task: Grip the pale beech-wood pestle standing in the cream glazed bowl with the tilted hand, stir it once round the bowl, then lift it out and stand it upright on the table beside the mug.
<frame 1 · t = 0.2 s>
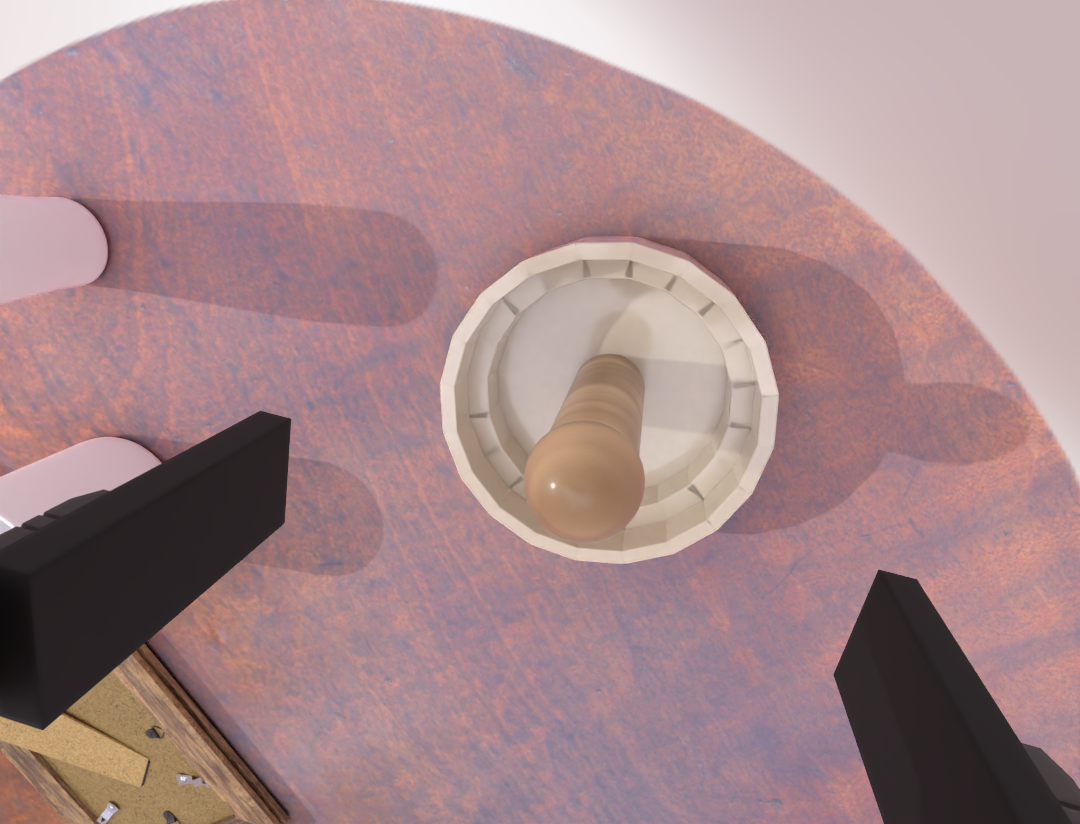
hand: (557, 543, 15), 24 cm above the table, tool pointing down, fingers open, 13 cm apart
drinking glass: (77, 241, 41), on the table
bowl: (609, 385, 38), on the table
mug: (152, 498, 46), on the table
picture frame: (125, 741, 54), on the table
pestle: (609, 388, 37), point 1 cm above the table, touching bowl
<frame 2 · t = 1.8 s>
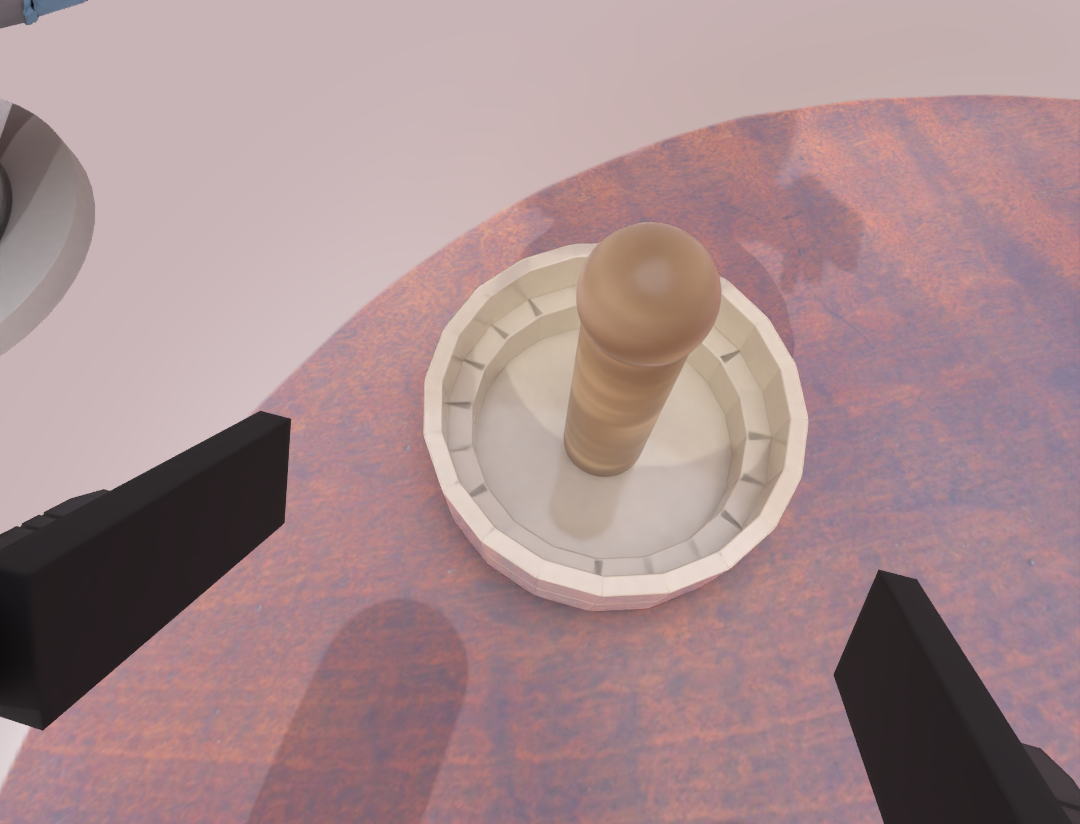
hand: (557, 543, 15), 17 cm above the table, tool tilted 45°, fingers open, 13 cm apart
bowl: (601, 443, 34), on the table
pestle: (603, 439, 33), point 1 cm above the table, touching bowl
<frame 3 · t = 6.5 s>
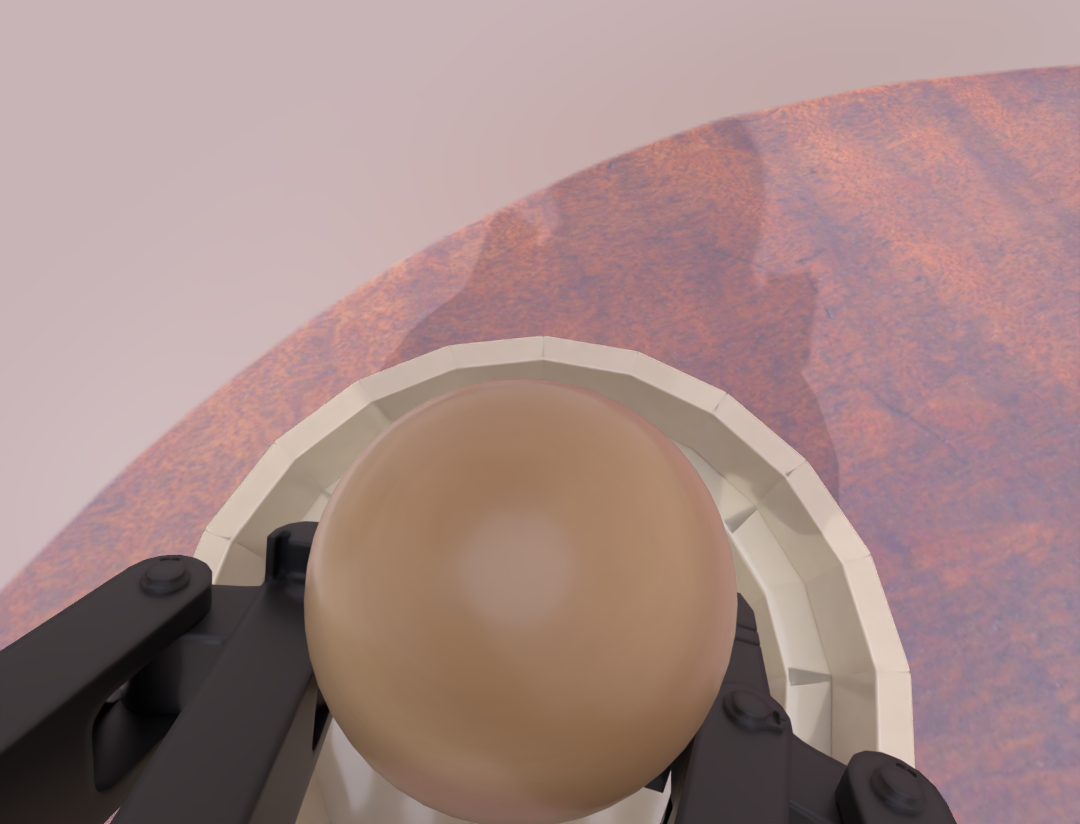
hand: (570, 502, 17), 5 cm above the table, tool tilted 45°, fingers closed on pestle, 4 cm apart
bowl: (532, 675, 20), on the table
pestle: (532, 674, 19), point 1 cm above the table, touching bowl, gripper
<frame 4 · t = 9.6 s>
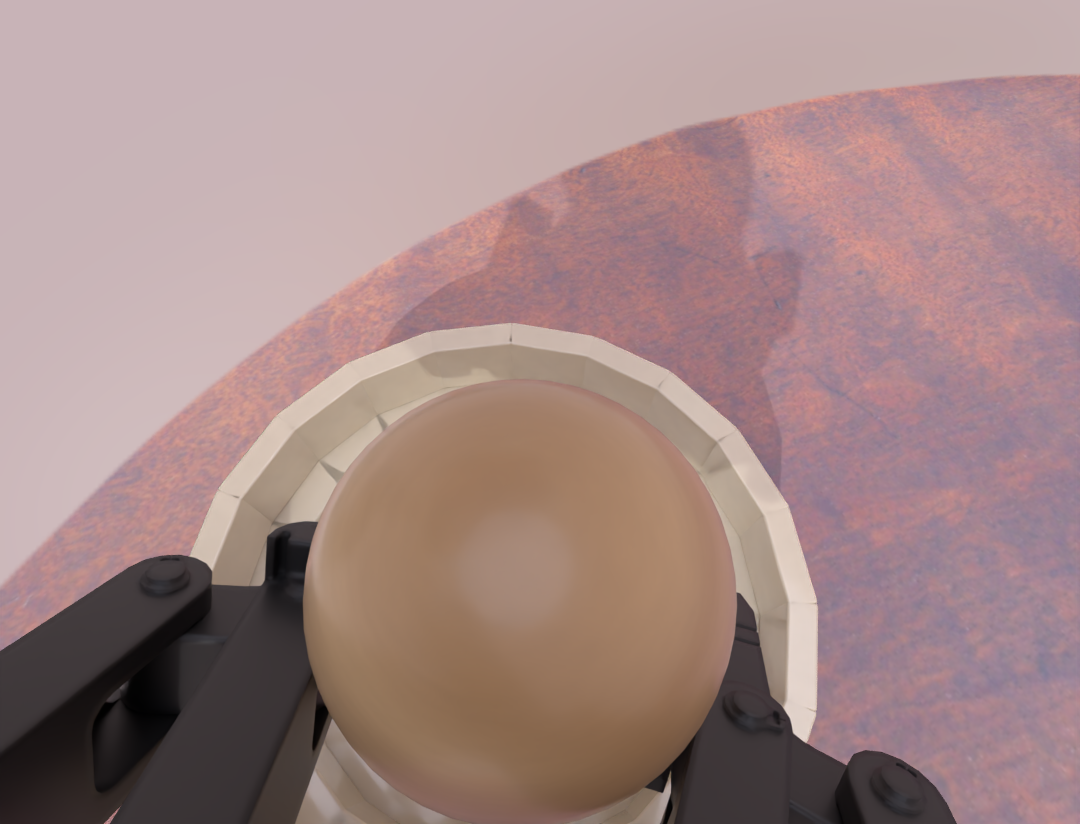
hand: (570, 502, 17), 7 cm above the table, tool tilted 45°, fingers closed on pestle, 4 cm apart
bowl: (505, 623, 22), on the table
pestle: (532, 674, 19), point 3 cm above the table, touching gripper
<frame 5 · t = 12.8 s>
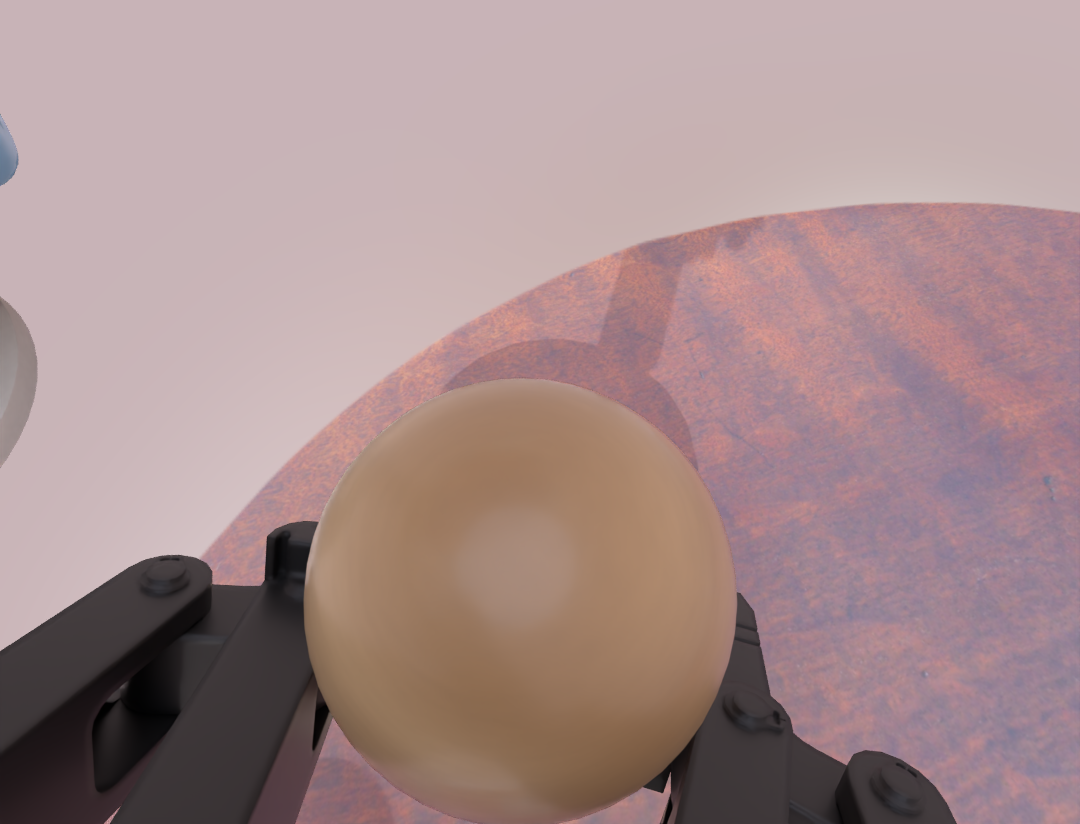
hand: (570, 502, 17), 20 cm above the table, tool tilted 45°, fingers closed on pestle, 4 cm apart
pestle: (532, 673, 19), point 16 cm above the table, touching gripper
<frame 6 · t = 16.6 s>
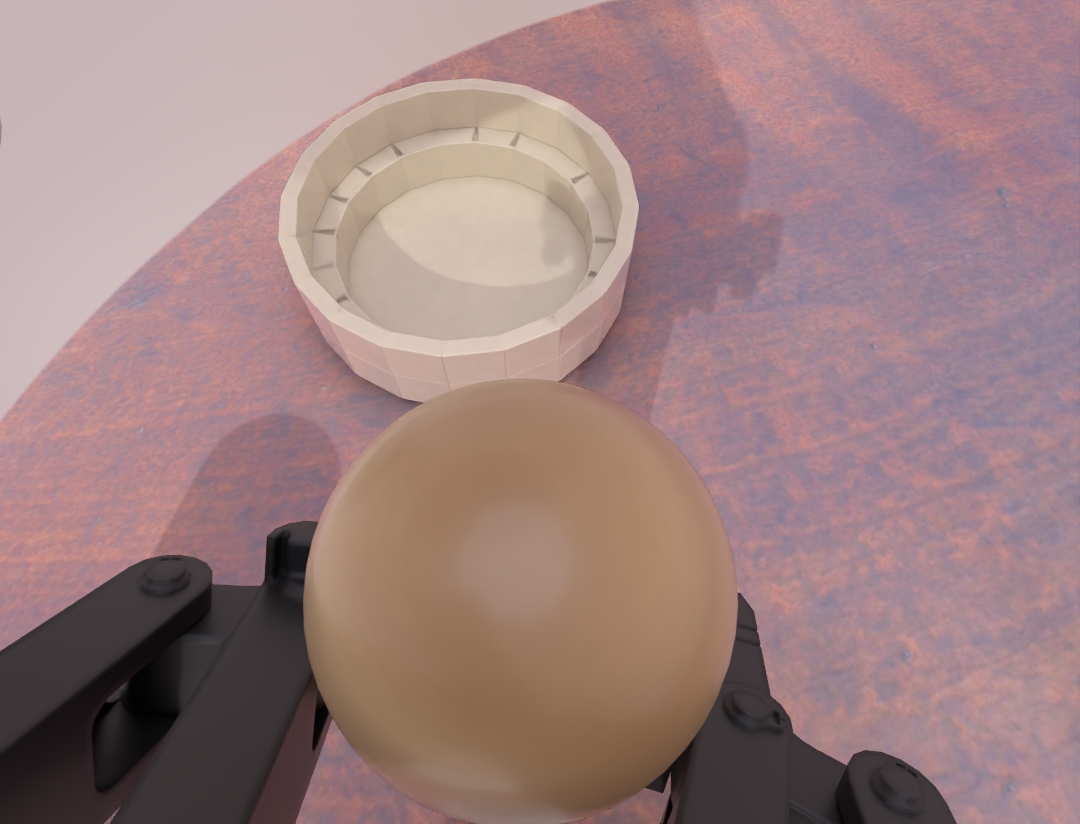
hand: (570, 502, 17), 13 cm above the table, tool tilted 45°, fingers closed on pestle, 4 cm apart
bowl: (470, 273, 36), on the table
pestle: (532, 674, 19), point 9 cm above the table, touching gripper
when the fingers open (5 cm above the table, at t = 19.2 s): pestle stays where it is, on the table.
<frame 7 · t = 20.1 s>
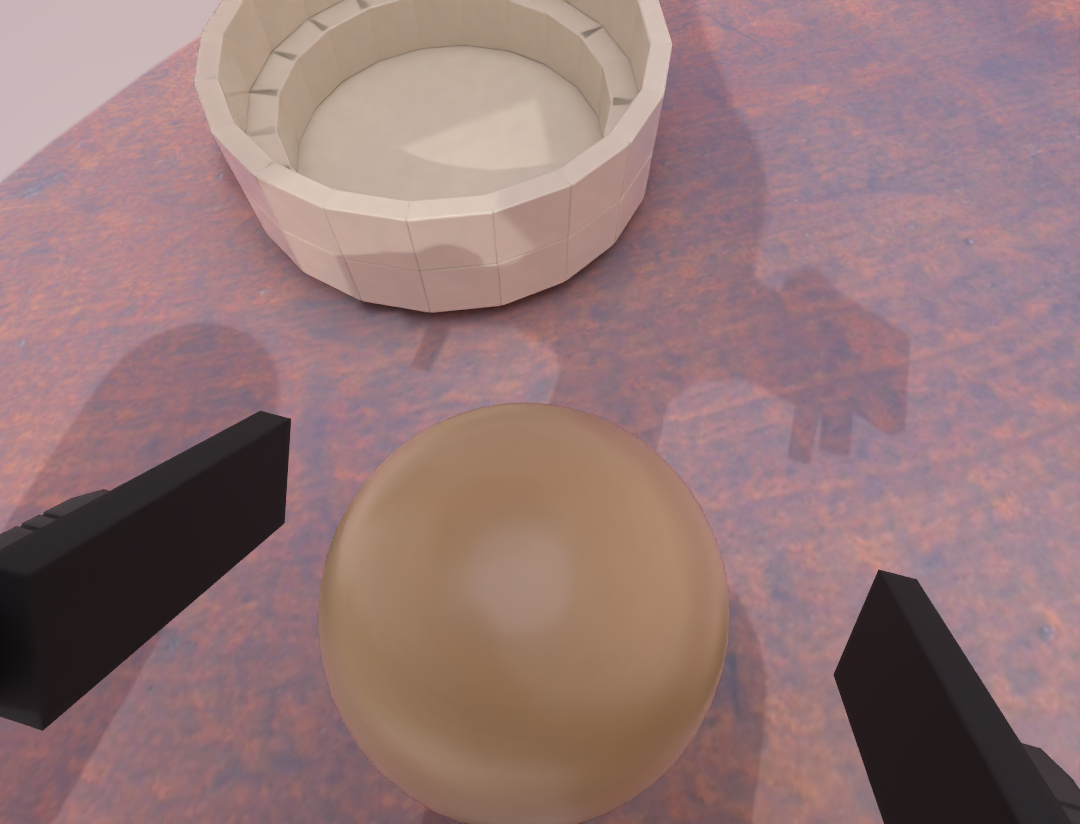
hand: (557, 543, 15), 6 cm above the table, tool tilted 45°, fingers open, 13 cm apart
bowl: (453, 158, 28), on the table
pestle: (533, 678, 19), on the table
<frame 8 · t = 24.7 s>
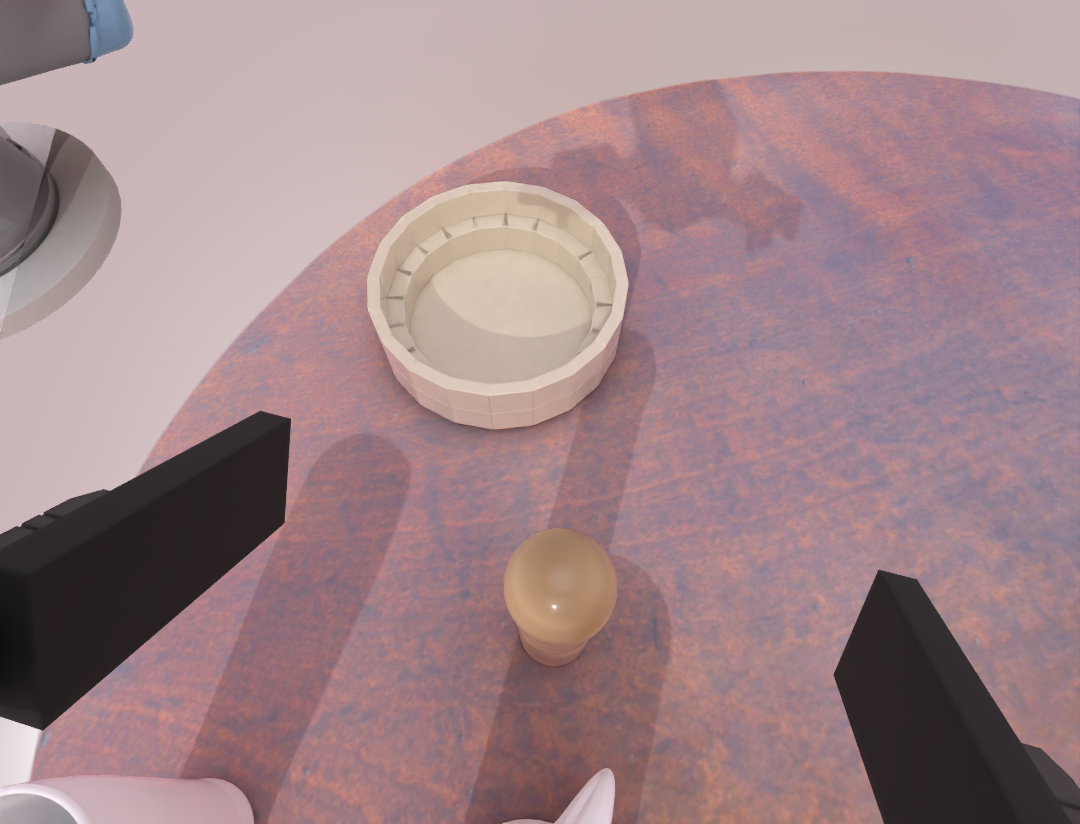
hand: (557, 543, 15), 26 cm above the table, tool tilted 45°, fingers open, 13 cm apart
bowl: (501, 326, 47), on the table
pestle: (553, 629, 38), on the table
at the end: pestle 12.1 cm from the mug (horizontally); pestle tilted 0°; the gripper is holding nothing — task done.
